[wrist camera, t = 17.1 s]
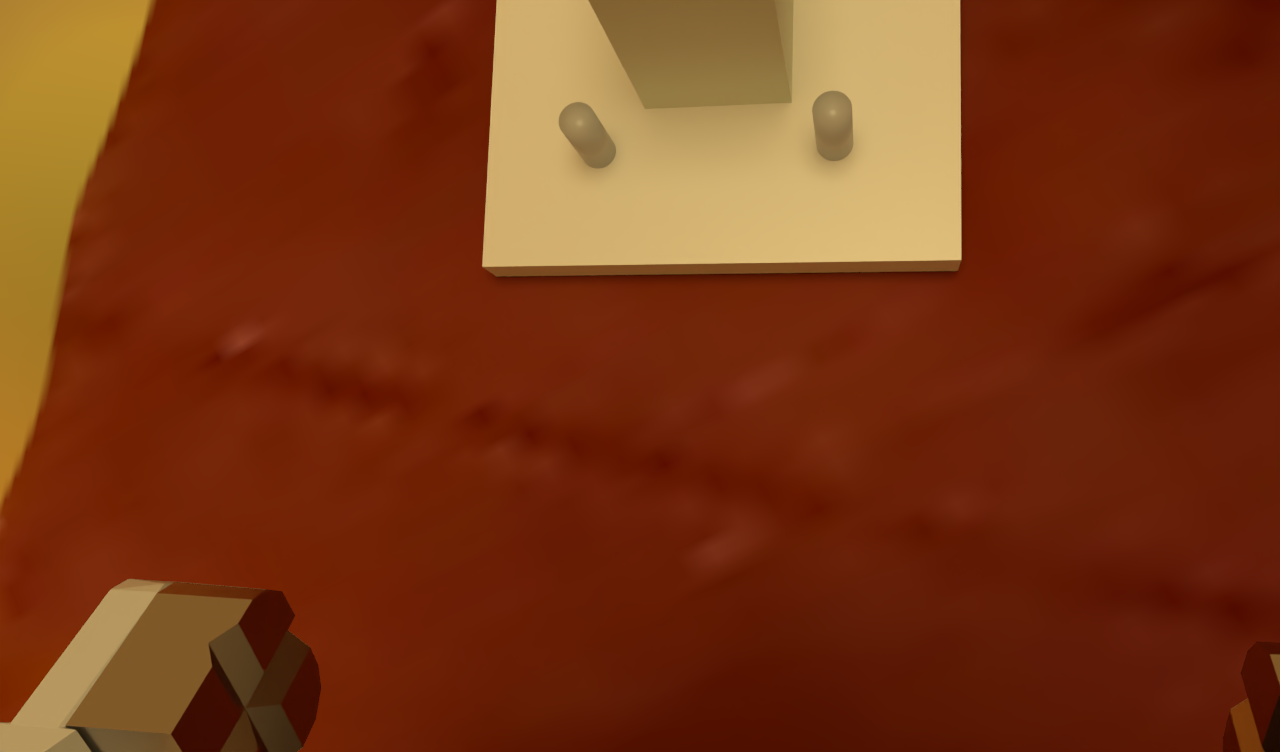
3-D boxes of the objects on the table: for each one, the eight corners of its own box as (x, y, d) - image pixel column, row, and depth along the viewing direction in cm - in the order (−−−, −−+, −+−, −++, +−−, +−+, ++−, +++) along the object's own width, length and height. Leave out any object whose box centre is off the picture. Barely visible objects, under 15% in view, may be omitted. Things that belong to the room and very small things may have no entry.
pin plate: (955, -177, 39) (966, -267, 34) (957, 270, 37) (970, 235, 32) (518, -137, 42) (477, -215, 38) (496, 276, 40) (450, 244, 35)
